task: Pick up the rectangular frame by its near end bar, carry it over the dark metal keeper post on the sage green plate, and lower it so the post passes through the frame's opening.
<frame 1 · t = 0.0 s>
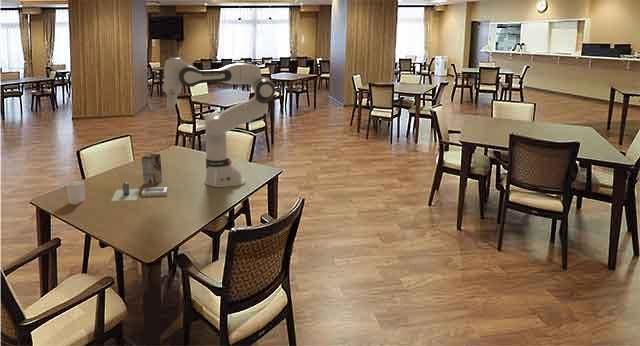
hand: (170, 114, 270), 39 cm above the table, tool pointing down, fingers open, 8 cm apart
keeper post: (126, 194, 258), resting on keeper plate
coffee box: (153, 184, 281), on the table
white cup: (77, 202, 249), on the table
keeper plate: (126, 196, 259), on the table
rectangular frame: (155, 195, 262), on the table
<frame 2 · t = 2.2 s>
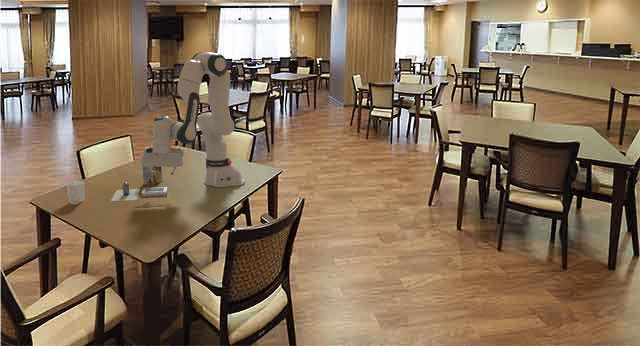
hand: (163, 174, 259), 11 cm above the table, tool pointing down, fingers open, 8 cm apart
nothing on the table moved.
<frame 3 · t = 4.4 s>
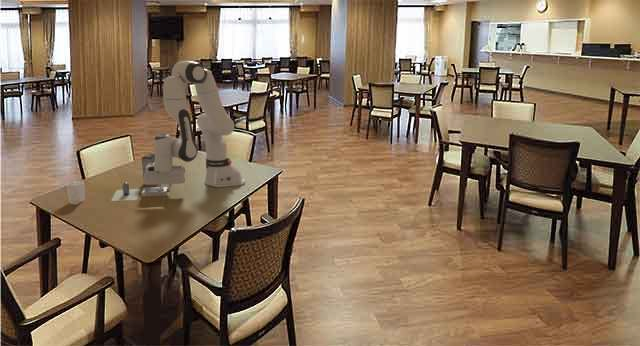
hand: (165, 191, 262), 2 cm above the table, tool pointing down, fingers closed on rectangular frame
rectangular frame: (155, 195, 262), on the table, touching gripper
everything else where it was.
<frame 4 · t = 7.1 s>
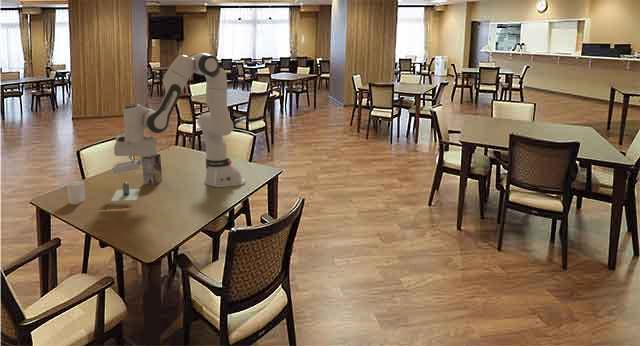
hand: (136, 163, 255), 17 cm above the table, tool pointing down, fingers closed on rectangular frame
rectangular frame: (127, 169, 255), point 14 cm above the table, tilted 11°, touching gripper
everything else where it was.
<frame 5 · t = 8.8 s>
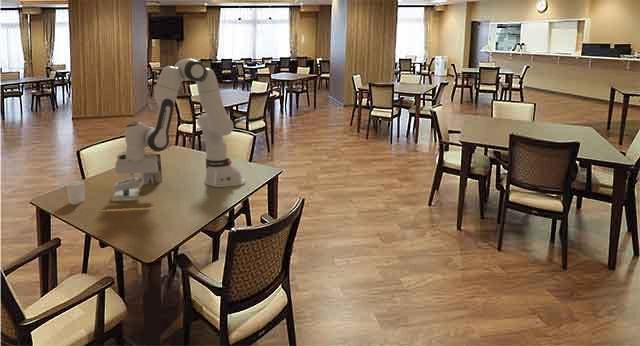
hand: (137, 181, 258), 8 cm above the table, tool pointing down, fingers closed on rectangular frame
rectangular frame: (128, 186, 257), point 5 cm above the table, tilted 13°, touching gripper
everything else where it was.
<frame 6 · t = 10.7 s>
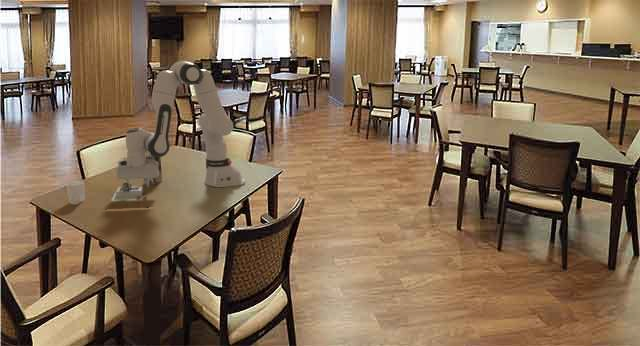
hand: (138, 186, 259), 5 cm above the table, tool pointing down, fingers open, 7 cm apart
rectangular frame: (130, 194, 259), point 1 cm above the table, touching keeper plate
everything else where it was.
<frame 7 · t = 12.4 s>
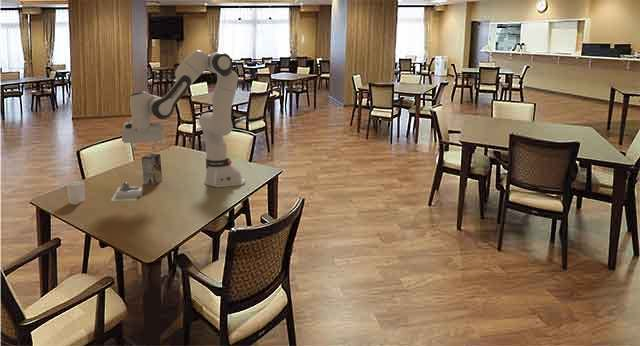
hand: (144, 150, 261), 23 cm above the table, tool pointing down, fingers open, 8 cm apart
nothing on the table moved.
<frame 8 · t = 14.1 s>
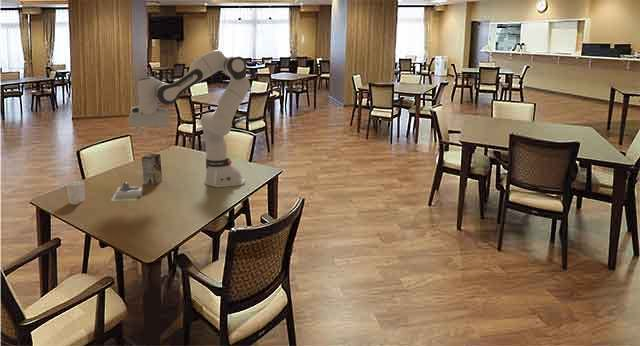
hand: (150, 134, 266), 29 cm above the table, tool pointing down, fingers open, 8 cm apart
nothing on the table moved.
at the end: rectangular frame 1.8 cm off-centre on the keeper post, point 0.0 cm above the keeper post's base; the gripper is holding nothing; rectangular frame tilted 0° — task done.
